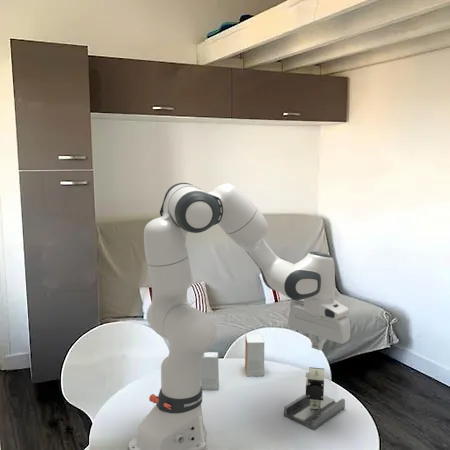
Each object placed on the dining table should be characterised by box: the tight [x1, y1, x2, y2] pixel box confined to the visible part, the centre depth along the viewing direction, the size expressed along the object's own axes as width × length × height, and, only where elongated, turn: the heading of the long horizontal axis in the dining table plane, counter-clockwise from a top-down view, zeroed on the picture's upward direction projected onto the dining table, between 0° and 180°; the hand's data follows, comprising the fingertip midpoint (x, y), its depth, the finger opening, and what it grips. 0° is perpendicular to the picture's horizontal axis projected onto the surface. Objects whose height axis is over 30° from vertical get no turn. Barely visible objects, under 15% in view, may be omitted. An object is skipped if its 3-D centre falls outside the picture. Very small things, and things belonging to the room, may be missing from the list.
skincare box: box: [201, 351, 220, 391], centre depth 173 cm, size 6×4×12 cm
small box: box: [244, 333, 265, 377], centre depth 185 cm, size 8×6×13 cm
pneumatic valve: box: [305, 366, 325, 410], centre depth 158 cm, size 6×12×12 cm, turn 168°
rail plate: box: [283, 393, 346, 431], centre depth 158 cm, size 17×11×3 cm, turn 136°
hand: (317, 348), depth 155 cm, fingers closed
